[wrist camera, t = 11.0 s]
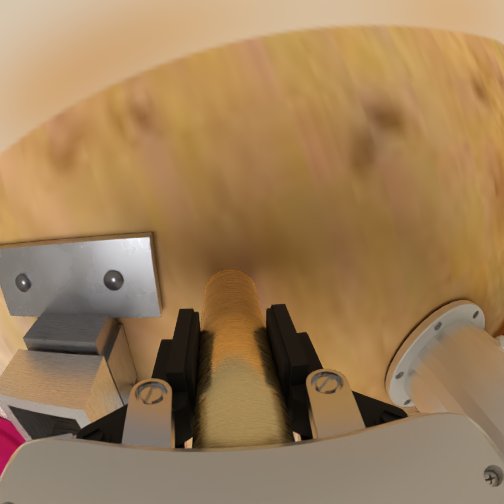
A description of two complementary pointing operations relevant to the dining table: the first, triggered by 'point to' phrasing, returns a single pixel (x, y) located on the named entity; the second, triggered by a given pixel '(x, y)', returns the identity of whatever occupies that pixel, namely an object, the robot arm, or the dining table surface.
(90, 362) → the square tube bracket
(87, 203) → the dining table surface
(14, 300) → the fixed leaf
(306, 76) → the dining table surface
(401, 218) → the dining table surface
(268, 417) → the hinge pin
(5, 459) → the pepper mill
